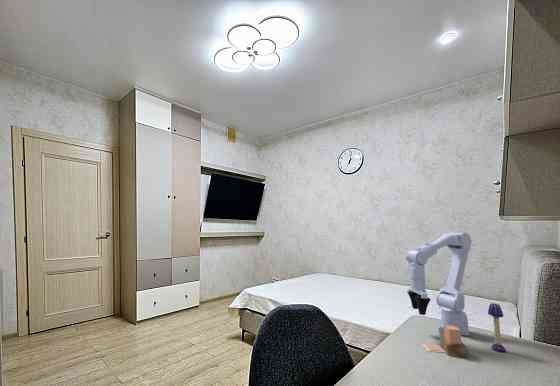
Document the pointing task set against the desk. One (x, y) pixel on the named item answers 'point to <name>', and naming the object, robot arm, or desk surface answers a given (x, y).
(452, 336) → the terracotta block
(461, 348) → the walnut base block
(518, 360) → the desk surface
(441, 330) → the slate grey block
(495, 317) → the toy lamp
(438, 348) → the terracotta swatch tile
